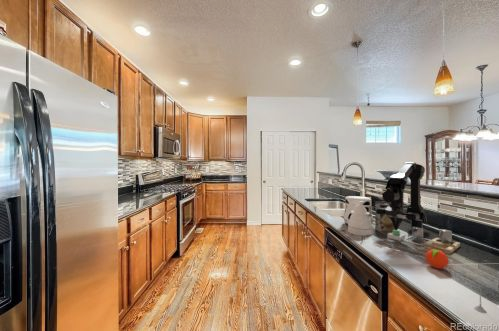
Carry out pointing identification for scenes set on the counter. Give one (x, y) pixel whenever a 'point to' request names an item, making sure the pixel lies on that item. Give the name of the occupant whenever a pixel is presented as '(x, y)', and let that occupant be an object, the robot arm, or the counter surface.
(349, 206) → the milk container
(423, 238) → the grey flat rimmed tray
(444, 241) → the billet
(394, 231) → the button
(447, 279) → the counter surface
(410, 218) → the robot arm
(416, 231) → the cylinder
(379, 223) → the coffee box
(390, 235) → the white square frame
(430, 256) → the tomato
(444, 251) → the shallow beige tray
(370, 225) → the honey pot
